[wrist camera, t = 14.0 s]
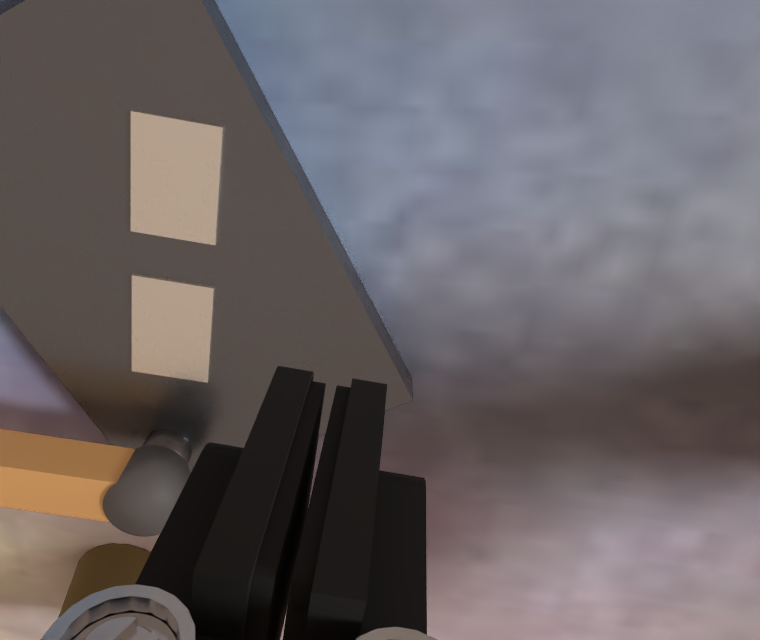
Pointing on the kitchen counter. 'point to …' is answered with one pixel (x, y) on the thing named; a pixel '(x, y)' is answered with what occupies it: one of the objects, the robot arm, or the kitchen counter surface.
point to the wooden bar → (91, 480)
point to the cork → (105, 571)
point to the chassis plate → (167, 227)
